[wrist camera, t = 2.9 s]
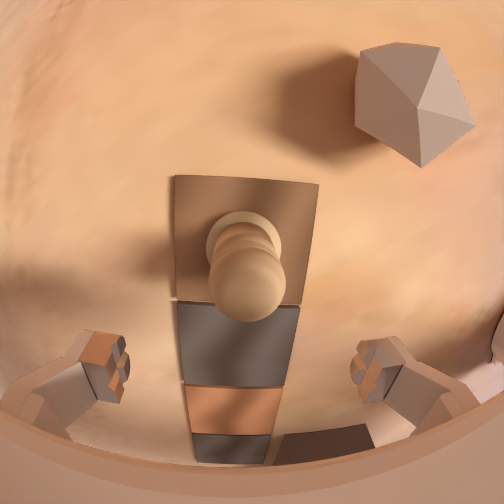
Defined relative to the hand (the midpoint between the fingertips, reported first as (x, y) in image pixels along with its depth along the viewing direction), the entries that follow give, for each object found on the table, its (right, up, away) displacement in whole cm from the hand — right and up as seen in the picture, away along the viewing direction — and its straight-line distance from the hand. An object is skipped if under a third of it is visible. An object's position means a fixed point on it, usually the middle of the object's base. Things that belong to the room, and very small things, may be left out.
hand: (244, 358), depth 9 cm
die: (+10, +15, +9) cm, 20 cm away
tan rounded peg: (0, +4, +11) cm, 12 cm away
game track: (-2, -10, +17) cm, 20 cm away
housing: (+10, -26, +24) cm, 37 cm away
